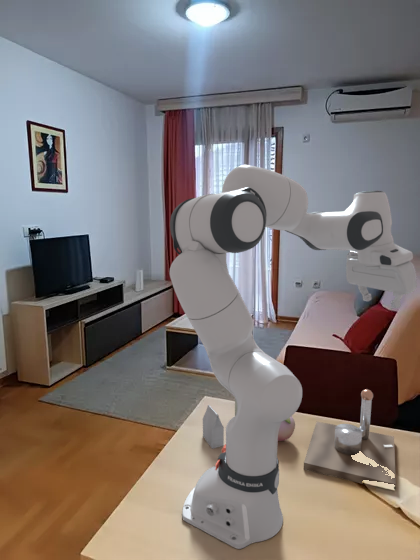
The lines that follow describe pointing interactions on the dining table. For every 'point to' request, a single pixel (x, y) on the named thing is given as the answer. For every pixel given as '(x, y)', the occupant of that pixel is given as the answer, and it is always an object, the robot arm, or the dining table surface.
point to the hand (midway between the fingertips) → (381, 303)
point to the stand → (342, 465)
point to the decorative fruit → (286, 429)
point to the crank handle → (355, 428)
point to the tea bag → (213, 428)
